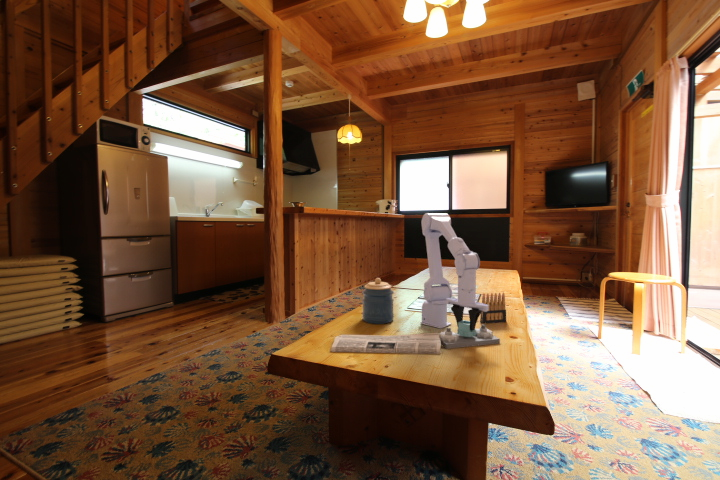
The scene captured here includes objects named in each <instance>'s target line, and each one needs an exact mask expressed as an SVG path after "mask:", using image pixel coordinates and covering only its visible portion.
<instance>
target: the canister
mask: <svg viewBox="0 0 720 480" xmlns="http://www.w3.org/2000/svg"><path fill="white" fill-rule="evenodd" d="M361 293H362V294H363V298H362V314H361V315H362V320H363V321H364V322H366V323H367V324H368V323H369V324H374V325H383V324H389V323H392V322H393V320H394V315H395V314H394V298H393V294H394V290H392V285H391V284H389V282H386V281H382V279H381V278H380V277H376V278H375V279H374V281H369V282H368V283H367V284H365V285H364V289H363V290H362V292H361Z"/></svg>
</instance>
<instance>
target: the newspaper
mask: <svg viewBox="0 0 720 480" xmlns="http://www.w3.org/2000/svg"><path fill="white" fill-rule="evenodd" d="M441 347H442V345H441V341H440V337H439V332H430V333H413V334H412V333H411V334H397V335H396V334H395V335H379V334H378V335H376V334H375V335H371V334H345V333H344V334H342V333H341V334H340V335H338V336H335V337H334V340H333V343H332V345H331V348H330V352H332V353H333V352H334V353H377V354H380V353H382V354H384V353H385V354H422V355H423V354H425V355H426V354H427V355H428V354H431V355H434V354H435V355H441V353H442V352H441Z"/></svg>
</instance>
